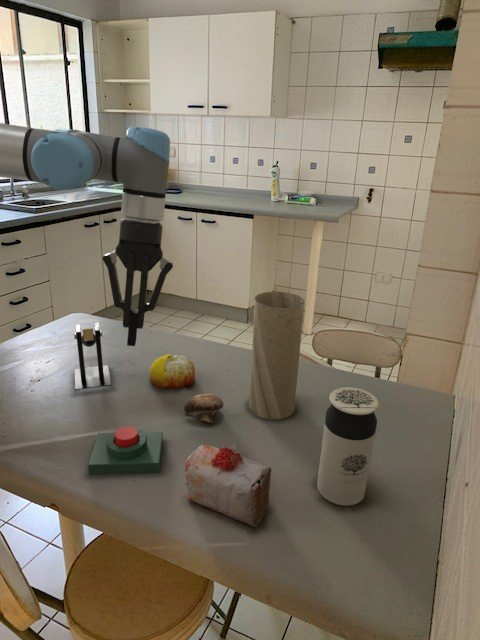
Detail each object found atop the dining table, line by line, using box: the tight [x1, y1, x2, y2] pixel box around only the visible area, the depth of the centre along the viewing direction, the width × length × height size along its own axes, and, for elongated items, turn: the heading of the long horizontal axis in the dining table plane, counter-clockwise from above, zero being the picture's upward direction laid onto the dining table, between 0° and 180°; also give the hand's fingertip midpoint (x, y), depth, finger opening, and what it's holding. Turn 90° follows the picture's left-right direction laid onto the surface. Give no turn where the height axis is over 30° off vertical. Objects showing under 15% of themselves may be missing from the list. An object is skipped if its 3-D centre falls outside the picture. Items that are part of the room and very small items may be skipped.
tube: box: [248, 291, 305, 420], centre depth 97 cm, size 10×10×25 cm
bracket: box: [73, 322, 112, 391], centre depth 107 cm, size 10×8×14 cm
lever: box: [82, 327, 96, 348], centre depth 110 cm, size 13×4×4 cm, turn 19°
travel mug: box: [316, 386, 380, 507], centre depth 75 cm, size 8×8×18 cm
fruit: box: [149, 353, 196, 390], centre depth 109 cm, size 11×10×8 cm
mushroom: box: [183, 393, 224, 424], centre depth 96 cm, size 8×8×6 cm
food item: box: [184, 444, 272, 529], centre depth 74 cm, size 14×8×10 cm, turn 63°
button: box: [115, 425, 138, 447], centre depth 83 cm, size 4×4×2 cm
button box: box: [87, 427, 164, 476], centre depth 84 cm, size 12×9×4 cm
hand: (131, 343), depth 90 cm, fingers closed
